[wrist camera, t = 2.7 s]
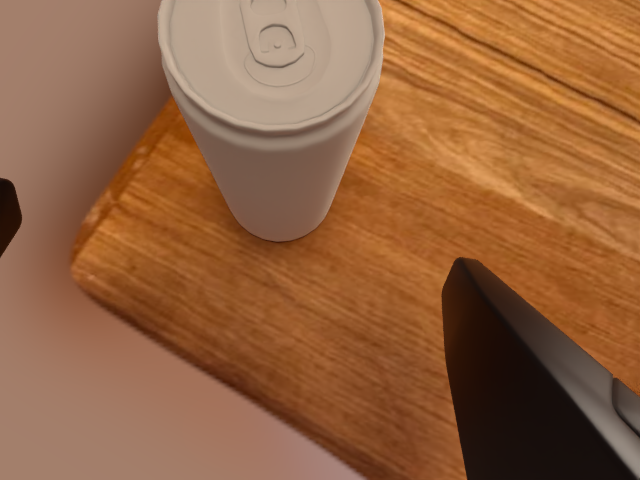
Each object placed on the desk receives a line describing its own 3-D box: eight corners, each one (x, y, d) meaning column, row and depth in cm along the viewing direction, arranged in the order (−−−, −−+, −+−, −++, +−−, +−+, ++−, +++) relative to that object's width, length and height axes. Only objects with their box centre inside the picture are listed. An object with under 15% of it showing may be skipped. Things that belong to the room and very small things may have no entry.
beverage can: (238, 253, 20) (171, 158, 8) (219, 154, 21) (131, -64, 9) (341, 232, 20) (417, 114, 9) (319, 136, 21) (361, -93, 9)
